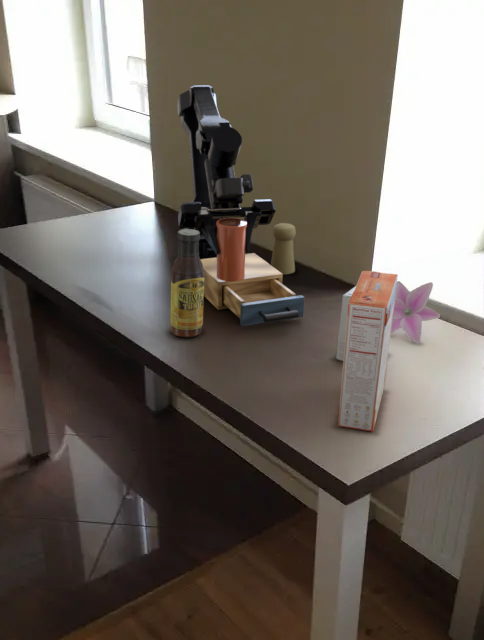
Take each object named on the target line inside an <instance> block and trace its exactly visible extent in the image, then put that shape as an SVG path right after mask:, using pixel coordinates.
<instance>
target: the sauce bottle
mask: <svg viewBox="0 0 484 640" xmlns="http://www.w3.org/2000/svg"><path fill="white" fill-rule="evenodd" d="M176 238H177V241H178V248H177V249H178V250H177V257H176V258H175V260H174V261H173V265H172V267H171V279H170V319H169V321H170V325H171V326H170V331H171V333H172V334H173V335H174V336H176V337H181V338H193V337H196V336H198V335H199V336H200V334H201V333H202V328H203V324H204V298H205V296H204V272H203V264H202V262H201V260H200V258H199V252H198V247H199V240H200V232H199V231H197V230H193V229H184V228H181V229H179V230H178V231H177V236H176Z"/></svg>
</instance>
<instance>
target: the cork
mask: <svg viewBox="0 0 484 640" xmlns="http://www.w3.org/2000/svg"><path fill="white" fill-rule="evenodd" d="M272 233H273V237H274V244H273V250H272V255H271V260H270V265H271V266H272V267H274V268H275V269H277V270H278V271H279V272H281V273H282V274H283V275H291V274H294V273H295V272H296V265H295V252H294V239H295V236H296V233H297V231H296V227H295V225H293V224H291V223H289V222H280V223H277V224H275V225H274V227H273V230H272Z"/></svg>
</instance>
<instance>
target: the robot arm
mask: <svg viewBox="0 0 484 640" xmlns="http://www.w3.org/2000/svg"><path fill="white" fill-rule="evenodd" d="M214 91H215V90H214V87H213V86H211V85H192V86H189V88H188V90H185V91H184V92H182V93H180V94H179V95H178V99H177V100H176V101H177V103H176V109H177V111H176V112H177V116H178V117H179V118H180V125H181V128H182V129H183V130H184V132H185V133H186V135H187V136H188V141H189V143H188V145H189V154H190V155H189V156H190V169H191V170H190V171H191V179H192V180H191V181H192V182H191V183H192V193H193V200H192V201H187V202H186V201H185V202H184V201H183V202H182V203H181V204H180V206H179V208H178V209H179V210H178V214H177V221H178V228H180V229H193V230H197V231H199V232H200V240H199V247H198V252H199V258H200V259H208V258H216V257H217V255H218V254H219V247H218V242H217V226H216V222H217V221H218V220H220V219H224V218H237V219H242V218H243V220H245V221H246V222H247V227H246V247H245V254H249V251H250V245H251V240H252V235H253V231H254V230H255V229H257V228H258V226H266V225H270V224H271V222H272V220H273V218H274V216H275V214H276V212H277V209H276V204H275V202H274V201H273V200H272V199H271V198H270V199H269V198H267V199H266V198H265V199H253V201H252V204H251V206H243V207H241V204H242V203H243V201H244V199H243V197H244V196H245V193H249V194H250V193H251V192H252V191H254V180H253V176H252V174H251V173H247V174H245V173H244V174H241V175H240V177H236V173H235V165H236V164H237V162H238V157H239V154H240V151H241V147H242V143H243V137H242V135H241V133H240V132H239V131H238V130H237V129H236V128H234V127H232V125H231V123H230V121H229V120H228V119H225V118H223V117H221V115H220V112H219V109H218V105H217V95H216V93H215V92H214Z"/></svg>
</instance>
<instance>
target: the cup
mask: <svg viewBox="0 0 484 640" xmlns="http://www.w3.org/2000/svg"><path fill="white" fill-rule="evenodd" d="M216 226H217V242H218V247H219V254H218V255H217V278H218V279H220V280H223V281H230V282H233V281H240V280H242V279H244V277H245V254H246V252H245V247H246V227H247V222H246V221H245V220H244V219H242V218H224V219H220V220H218V221H217V222H216Z"/></svg>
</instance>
